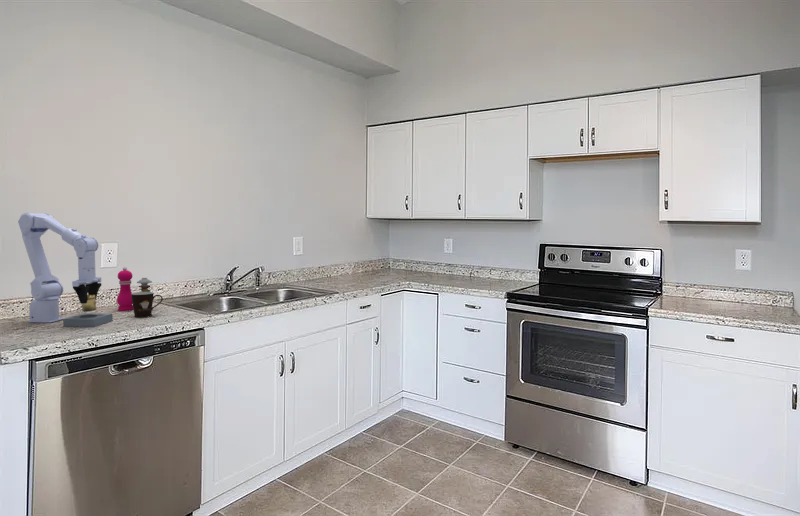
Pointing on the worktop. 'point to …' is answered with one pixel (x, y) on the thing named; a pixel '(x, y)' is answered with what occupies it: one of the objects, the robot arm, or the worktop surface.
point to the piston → (89, 303)
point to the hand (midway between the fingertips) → (88, 302)
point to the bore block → (88, 319)
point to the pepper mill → (125, 291)
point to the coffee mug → (143, 303)
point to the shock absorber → (144, 285)
